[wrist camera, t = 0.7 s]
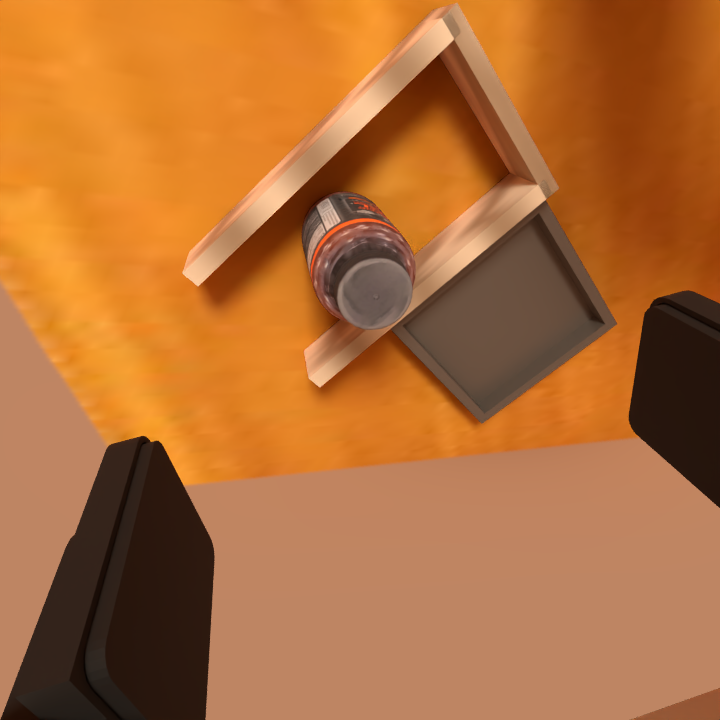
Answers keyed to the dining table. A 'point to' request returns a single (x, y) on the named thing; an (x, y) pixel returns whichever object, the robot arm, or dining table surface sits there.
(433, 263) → the bay
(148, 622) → the robot arm
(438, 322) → the tray
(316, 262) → the supplement bottle
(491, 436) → the dining table surface
